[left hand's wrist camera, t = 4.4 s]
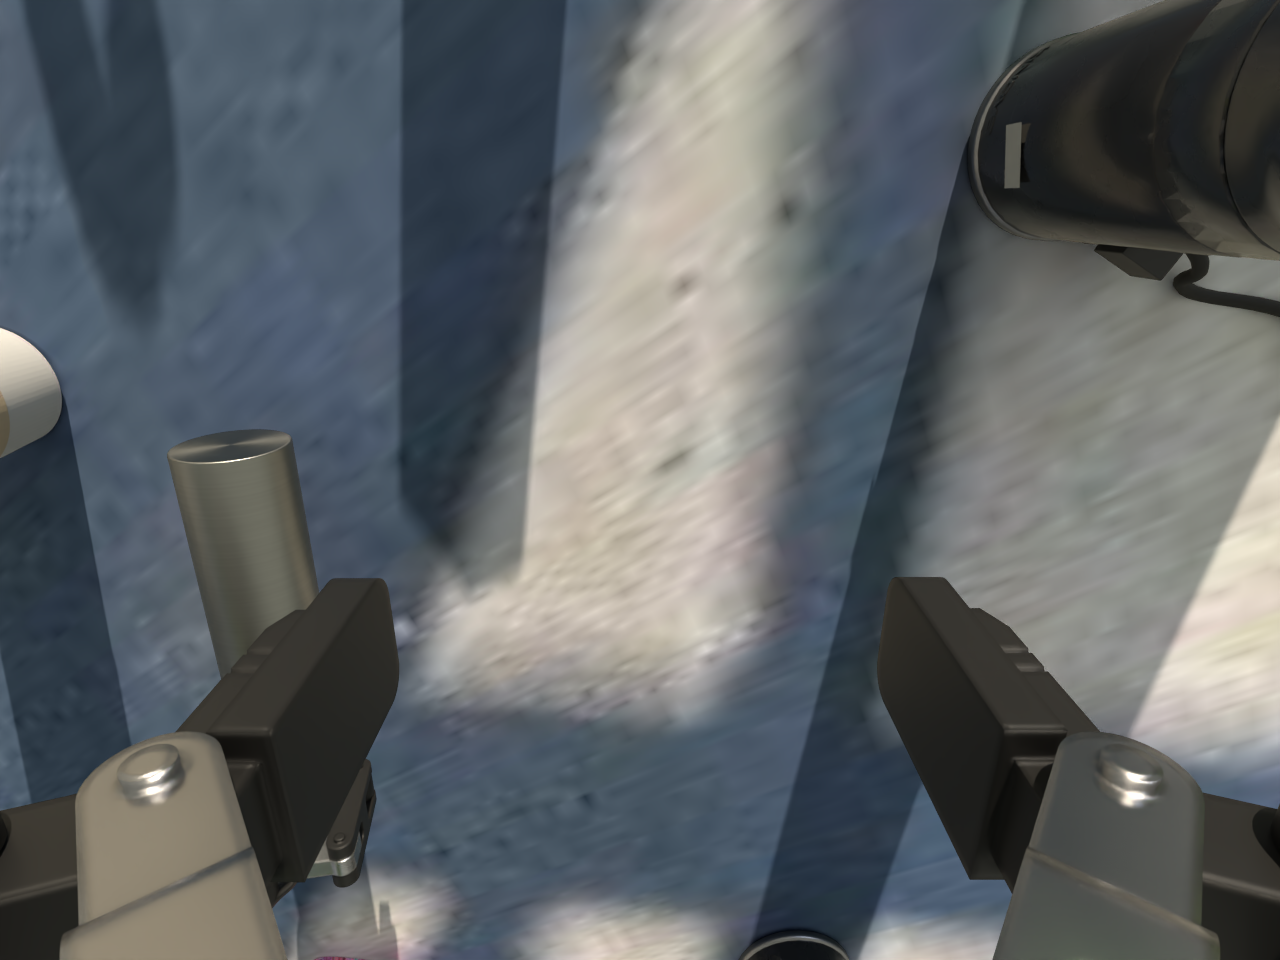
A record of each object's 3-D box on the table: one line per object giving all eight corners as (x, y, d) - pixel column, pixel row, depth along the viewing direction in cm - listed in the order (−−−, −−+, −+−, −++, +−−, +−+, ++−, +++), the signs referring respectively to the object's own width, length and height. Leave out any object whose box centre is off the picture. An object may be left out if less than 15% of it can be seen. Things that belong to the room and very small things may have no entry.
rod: (208, 428, 38) (140, 462, 33) (310, 429, 38) (257, 463, 33) (281, 762, 46) (235, 831, 41) (366, 763, 46) (330, 832, 41)
